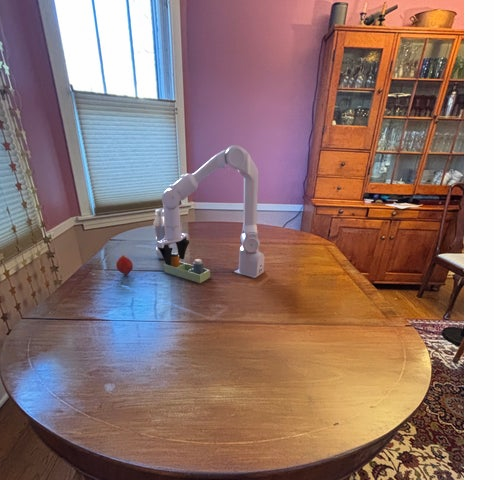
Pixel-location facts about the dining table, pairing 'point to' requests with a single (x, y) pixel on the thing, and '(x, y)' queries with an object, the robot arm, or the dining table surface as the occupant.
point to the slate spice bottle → (198, 266)
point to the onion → (124, 265)
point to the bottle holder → (187, 272)
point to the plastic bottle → (159, 229)
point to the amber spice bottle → (175, 259)
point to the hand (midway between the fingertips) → (175, 261)
